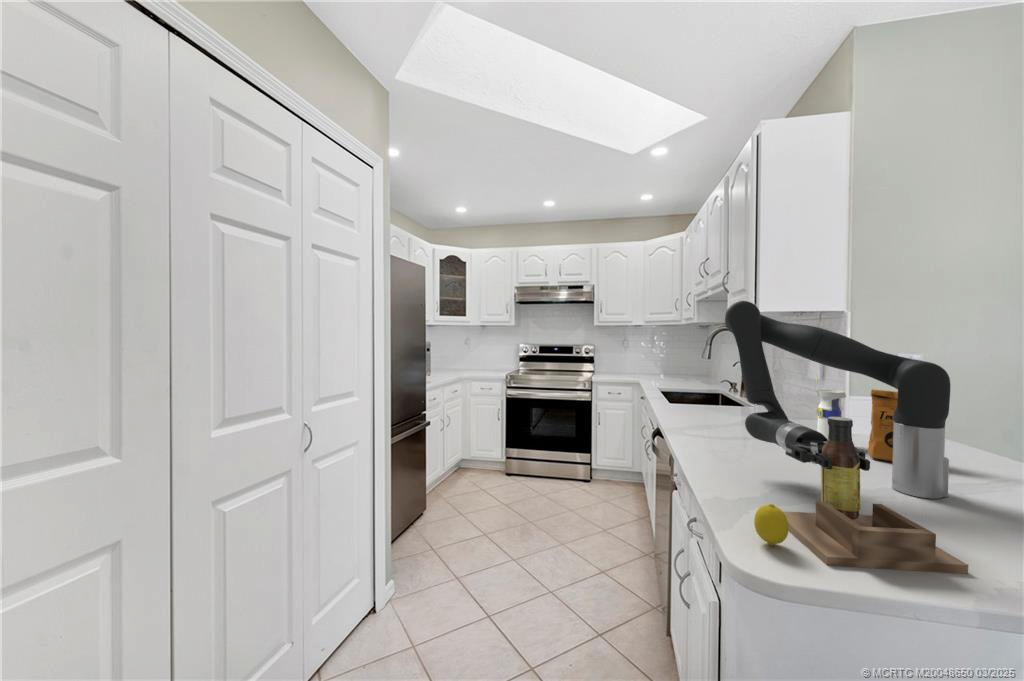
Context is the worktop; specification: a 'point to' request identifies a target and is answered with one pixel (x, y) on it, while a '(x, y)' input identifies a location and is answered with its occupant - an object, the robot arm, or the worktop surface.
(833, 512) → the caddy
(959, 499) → the worktop surface
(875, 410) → the coffee package
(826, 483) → the sauce bottle
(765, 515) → the lemon
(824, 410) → the white and blue bottle
